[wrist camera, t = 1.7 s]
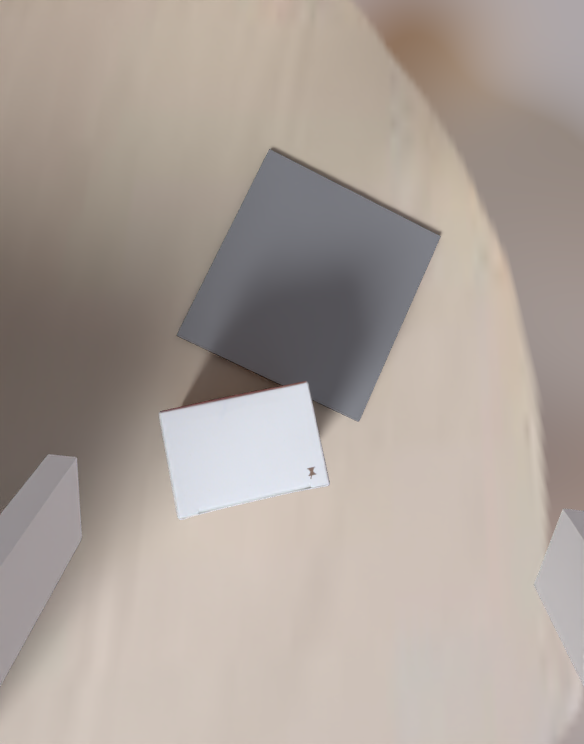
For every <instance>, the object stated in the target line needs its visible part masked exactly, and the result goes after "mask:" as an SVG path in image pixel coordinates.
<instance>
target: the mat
mask: <svg viewBox="0 0 584 744" xmlns="http://www.w3.org/2000/svg"><path fill="white" fill-rule="evenodd" d="M440 237H441V236H439V235H437V234H435V233H433V232H431V231H429V230H427V229H425V228H423V227H421V226H419V225H417V224H415V223H413V222H412V221H410V220H408V219H406V218H404V217H402V216H400V215H398V214H396V213H394V212H392V211H390V210H388V209H386V208H384V207H382V206H380V205H378V204H376V203H374V202H372V201H370V200H368V199H366V198H364V197H363V196H361V195H359V194H357V193H355V192H353V191H351V190H349V189H347V188H345V187H343V186H341V185H339V184H337V183H335V182H333V181H331V180H329V179H327V178H325V177H323V176H321V175H319V174H317V173H315V172H313V171H312V170H310V169H308V168H306V167H304V166H302V165H300V164H298V163H296V162H294V161H292V160H290V159H288V158H286V157H284V156H282V155H280V154H278V153H276V152H274V151H272V150H270V149H269V151H268V153H267V155H266V157H265V159H264V161H263V163H262V165H261V167H260V169H259V171H258V173H257V175H256V177H255V179H254V181H253V183H252V185H251V187H250V189H249V191H248V193H247V195H246V197H245V199H244V201H243V203H242V205H241V207H240V209H239V211H238V213H237V215H236V217H235V219H234V221H233V223H232V225H231V227H230V229H229V231H228V233H227V235H226V237H225V239H224V241H223V243H222V245H221V247H220V249H219V251H218V253H217V255H216V257H215V259H214V261H213V263H212V265H211V267H210V269H209V271H208V273H207V275H206V277H205V279H204V281H203V283H202V285H201V287H200V289H199V291H198V293H197V295H196V297H195V299H194V301H193V303H192V305H191V307H190V309H189V311H188V313H187V315H186V317H185V319H184V321H183V323H182V325H181V327H180V329H179V331H178V333H177V336H178V337H180V338H183V339H185V340H187V341H189V342H191V343H193V344H195V345H197V346H199V347H202V348H204V349H206V350H208V351H210V352H212V353H214V354H216V355H218V356H221V357H223V358H225V359H227V360H229V361H231V362H233V363H235V364H237V365H240V366H242V367H244V368H246V369H248V370H250V371H252V372H254V373H256V374H259V375H261V376H263V377H265V378H267V379H269V380H271V381H273V382H275V383H278V384H280V385H282V386H284V385H289V384H294V383H299V382H304V381H307V382H308V384H309V389H310V393H311V398H312V400H313V401H316V402H318V403H320V404H322V405H324V406H326V407H328V408H330V409H332V410H335V411H337V412H339V413H341V414H343V415H345V416H347V417H349V418H351V419H354V420H356V421H359V420H360V418H361V416H362V414H363V411H364V409H365V407H366V404H367V402H368V400H369V398H370V395H371V393H372V391H373V389H374V386H375V384H376V382H377V380H378V377H379V375H380V373H381V371H382V368H383V366H384V364H385V361H386V359H387V357H388V355H389V352H390V350H391V348H392V346H393V343H394V341H395V339H396V337H397V334H398V332H399V330H400V327H401V325H402V323H403V321H404V318H405V316H406V314H407V312H408V309H409V307H410V305H411V303H412V300H413V298H414V296H415V293H416V291H417V289H418V287H419V284H420V282H421V280H422V278H423V275H424V273H425V271H426V269H427V266H428V264H429V262H430V260H431V257H432V255H433V253H434V250H435V248H436V246H437V244H438V241H439V239H440Z"/></svg>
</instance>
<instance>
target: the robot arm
mask: <svg viewBox="0 0 584 744" xmlns="http://www.w3.org/2000/svg"><path fill="white" fill-rule="evenodd" d="M81 539H82V528H81V512H80V496H79V481H78V465H77V457H71V456H61V455H52V454H48V455H47V456H46V457H45V459H44V460H43V461H42V462H41V464H40V465H39V466H38V467H37V469H36V470H35V471H34V473H33V474H32V475H31V476H30V478H29V479H28V480H27V481H26V483H25V484H24V485H23V486H22V488H21V489H20V490H19V491H18V493H17V494H16V495H15V496H14V498H13V499H12V500H11V501H10V503H9V504H8V505H7V506H6V508H5V509H4V510H3V511H2V513H1V514H0V686H1V685H2V683H3V681H4V679H5V677H6V675H7V674H8V672H9V670H10V668H11V666H12V665H13V663H14V661H15V659H16V657H17V656H18V654H19V652H20V650H21V648H22V646H23V645H24V643H25V641H26V639H27V637H28V636H29V634H30V632H31V630H32V628H33V627H34V625H35V623H36V621H37V619H38V617H39V616H40V614H41V612H42V610H43V608H44V607H45V605H46V603H47V601H48V599H49V597H50V596H51V594H52V592H53V590H54V588H55V587H56V585H57V583H58V581H59V579H60V578H61V576H62V574H63V572H64V570H65V568H66V567H67V565H68V563H69V561H70V559H71V558H72V556H73V554H74V552H75V550H76V549H77V547H78V545H79V543H80V541H81ZM534 586H535V588H536V590H537V592H538V595H539V597H540V599H541V601H542V603H543V605H544V607H545V609H546V611H547V613H548V615H549V617H550V619H551V621H552V623H553V625H554V627H555V629H556V631H557V633H558V635H559V637H560V639H561V641H562V643H563V646H564V648H565V650H566V652H567V654H568V656H569V658H570V660H571V662H572V664H573V666H574V668H575V670H576V672H577V674H578V676H579V678H580V680H581V682H582V684H583V686H584V511H580V510H571V509H563V510H562V513H561V515H560V518H559V520H558V523H557V526H556V528H555V531H554V533H553V536H552V539H551V541H550V544H549V546H548V549H547V552H546V554H545V557H544V560H543V562H542V565H541V567H540V570H539V573H538V575H537V578H536V580H535V583H534Z"/></svg>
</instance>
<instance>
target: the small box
mask: <svg viewBox="0 0 584 744" xmlns="http://www.w3.org/2000/svg"><path fill="white" fill-rule="evenodd" d="M159 420H160V425H161V431H162V436H163V442H164V447H165V453H166V458H167V464H168V469H169V474H170V480H171V485H172V491H173V496H174V501H175V506H176V511H177V517H178V519H180V520H183V519H186V518H190V517H193V516H196V515H200V514H203V513H207V512H211V511H215V510H219V509H223V508H228V507H232V506H236V505H241V504H245V503H249V502H253V501H257V500H262V499H266V498H271V497H275V496H280V495H284V494H288V493H293V492H298V491H303V490H308V489H314V488H319V487H326V486H329V485H330V481H329V477H328V472H327V468H326V463H325V458H324V454H323V449H322V445H321V440H320V435H319V431H318V426H317V421H316V417H315V412H314V407H313V403H312V398H311V393H310V389H309V384H308V382H307V381H304V382H299V383H294V384H289V385H284V386H279V387H274V388H268V389H263V390H258V391H253V392H247V393H242V394H238V395H233V396H228V397H223V398H218V399H213V400H209V401H204V402H200V403H195V404H191V405H187V406H182V407H177V408H173V409H168V410H164V411H160V412H159Z"/></svg>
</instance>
